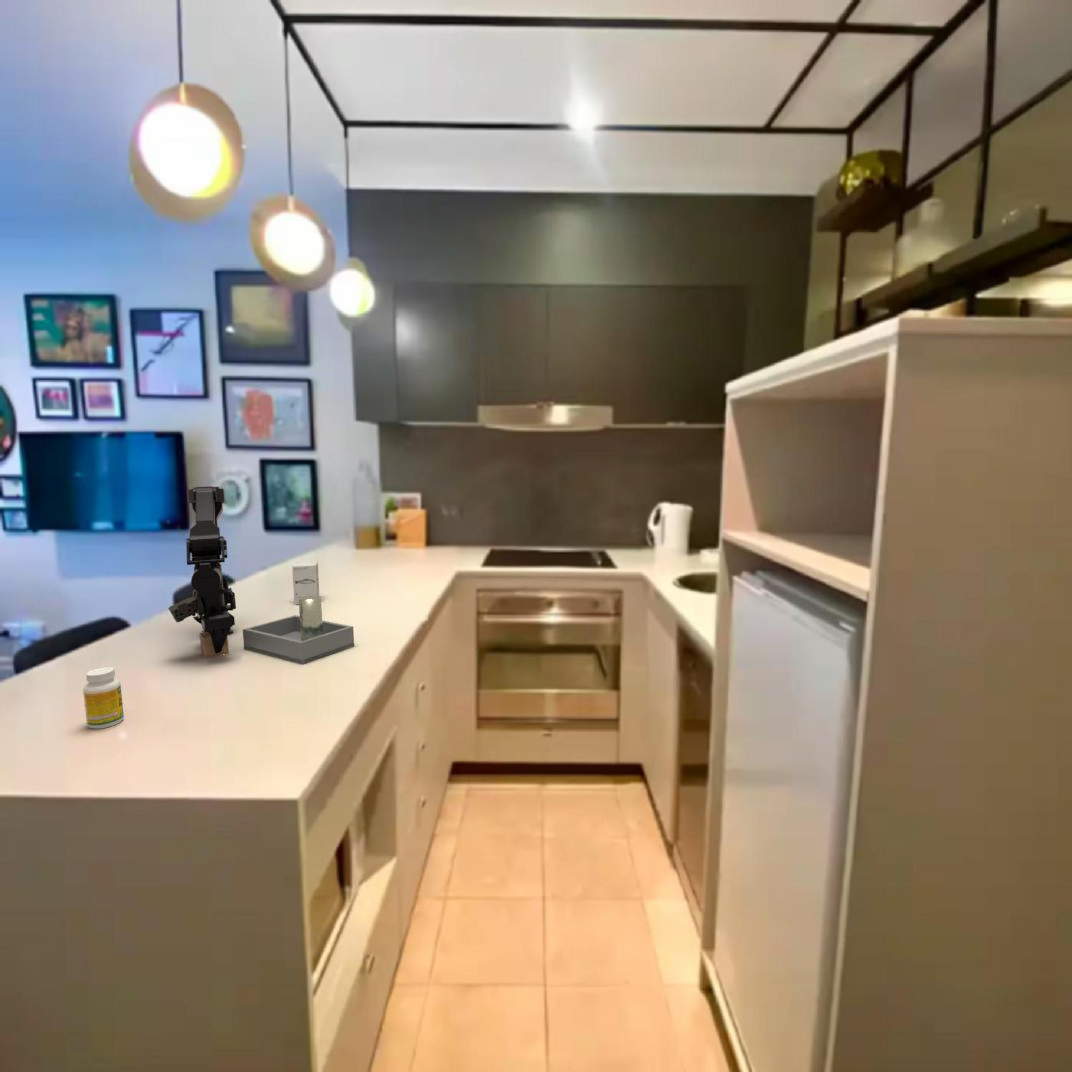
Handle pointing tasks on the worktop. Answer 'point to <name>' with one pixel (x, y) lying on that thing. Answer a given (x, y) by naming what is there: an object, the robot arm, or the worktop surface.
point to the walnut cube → (211, 646)
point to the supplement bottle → (103, 698)
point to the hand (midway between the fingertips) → (214, 648)
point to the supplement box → (305, 580)
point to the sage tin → (310, 617)
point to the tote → (297, 640)
